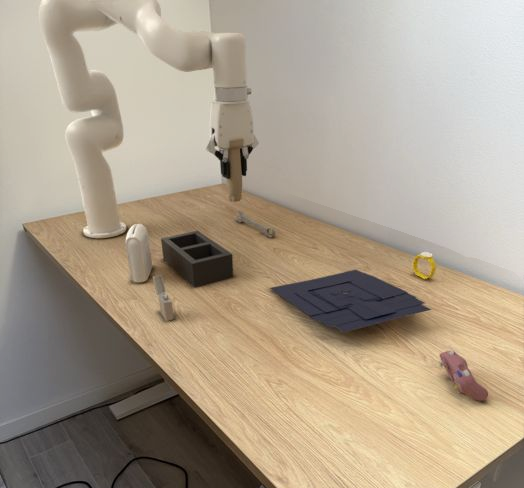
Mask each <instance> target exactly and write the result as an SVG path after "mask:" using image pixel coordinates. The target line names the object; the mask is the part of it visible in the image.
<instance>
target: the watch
mask: <svg viewBox="0 0 524 488" xmlns="http://www.w3.org/2000/svg"><path fill="white" fill-rule="evenodd" d="M433 256H434V255H433V254H432V252H428V251H422V252H421V253H420V254H418V255H416V256H415V257H414V259H413V262H412V271H413V272H414V275H415V276H417V277H419V278H421V279H423V280H428V279H430V278H432V277H433V276H434V275H435V273H436V269H437V265H436V262H435V260H434V258H433ZM420 258H421V259H423V260H427V261H428V262H429V263H430V273H429V274H428V276H427V275H425V274H424V273H422V272H420V270H419V266H418V262H419V260H420Z"/></svg>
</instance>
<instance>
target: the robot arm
mask: <svg viewBox="0 0 524 488" xmlns="http://www.w3.org/2000/svg"><path fill="white" fill-rule="evenodd" d="M161 9H162V8H161V5H160V3H159V2H158V0H41V1H40V4H39V7H38V15H37V16H38V25H39V29H40V33H41V36H42V38H43V41H44V43H45V46H46V49H47V51H48V54H49V57H50V58H49V59H50V61H51V67H52V69H53V70H52V71H53V74H54V78H55V81H56V85H57V89H58V92H59V97H60V100H61V103H62V105H63V107H64V108H65V109H66V110H67V111H69V112H71V113H75V114H81V113H86V112H90V113H91V116H86V117H82V118H77V119H75V120H73V121H71V122H70V123H69V124H68V125H67V127H66V129H65V131H64V132H65V133H64V138H65V142H66V146H67V148H68V151H69V153H70V156H71V158H72V162H73V165H74V168H75V172H76V177H77V181H78V187H79V190H80V197H81V201H82V206H83V210H84V215H85V220H86V224H87V225H86V226H85V227H83V229H82V231H83V235H84V236H86V237H88V238H91V239H107V238H113V237H117V236H120V235H122V234H124V233H125V232H126V231H127V225H126V224H125V223H124V222H122V221H121V219H120V212H119V207H118V201H117V195H116V190H115V183H114V178H113V173H112V169H111V166H110V164H109V162H108V160H107V159H106V157H105V155H104V153H106V152H108V151H112V150H114V149H116V148H119V146H121V145H122V143H123V140H124V136H125V135H124V134H125V133H124V132H125V131H124V125H123V120H122V115H121V110H120V105H119V101H118V97H117V91H116V88H115V85H114V84H113V82H112V80H111V79H110V77H109V76H108V75H107V74H106V73H104V72H103V71H101V70H98V69H89V66H88V63H87V59H86V54H85V51H84V50H83V49H84V48H83V47H82V45H81V44H80V42H79V40H78V39H77V38H76V36H75V35H74V34H75V33H76V32H77V33H78V32H99V31H100V32H101V31H104V30H107V29H110V28H111V27H113V26H115V25H117V24H119V25H120V26H122V27H124V28H125V29H126V30H129V32H131V33H133V34H135V35H136V36H138V37H139V38H140V41H141V42H142V44H143V45H144V46H145V48H146V49H147V50H148V51H149V53H150V54H152V55H153V56H155V57H156V58H157V59H159V60H161V61H162V62H164V63H165V64H166V65H168V66H170V67H171V68H174V69H176V70H178V71H179V72H184V73H190V72H195V71H204V70H208V69H212V77H213V79H212V80H213V90H214V93H213V95H214V101H212V102H211V103H210V111H209V141H208V143H207V146H206V151H207V152H209V153H211V154H212V155H214V156H215V157H216V158H217V160H218V161H220V162H219V165H220V174H221V176H222V178H224V179H226V180H227V179H230V163H229V162H228V160H227V159H228V149H229V148H230V147H229V141H234V140H241V139H243V142H244V144H243V146H241V147H240V158H241V170H242V177H246V176H247V171H248V159H249V157H250V155H251V153H252V152H253V150H254V149H256V147H258V145H259V144H260V143H259V140H258V139H257V136H256V135H255V133H254V132H255V131H254V119H253V113H252V112H253V111H252V107H251V103H250V100H248V98H249V97H248V96H249V95H252V88H251V87H248V85H247V83H248V82H247V49H246V48H247V47H246V46H247V45H246V38H245V36H244V34H242V33H241V32H217V33H216V32H212V31H205V30H204V31H201V30H200V31H183V30H181V29H179V28H177V27H176V26H174V25H173V24H171V23H169V22H167V21H166V20H165V19H164V18H163V17H161V16H162V10H161ZM216 147H217V148H218V149H216Z"/></svg>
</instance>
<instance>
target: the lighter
mask: <svg viewBox="0 0 524 488" xmlns="http://www.w3.org/2000/svg"><path fill="white" fill-rule="evenodd" d="M152 281H153V285H154V288H155V293H156V295H157V296H158V301H159V302H158V304H159V310H160V314H161V316H162V317H163V318H164V320H165V322H169V321H172V320H174V319H175V317H174V309H173V301H172V299H171V298H170V296H169V294H168V293H167V291H166V287H165V283H164V279H163V275H162V274H157V275H154V276H152Z"/></svg>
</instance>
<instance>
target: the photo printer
mask: <svg viewBox="0 0 524 488" xmlns="http://www.w3.org/2000/svg"><path fill="white" fill-rule="evenodd" d="M125 249H126V255H127V261H128V267H129V273H130V278H131V281H132V282H134V283H137V284H138V283H144V282H146V281H148V279H149V277H150V275H151V273H152V269H153V261H152V256H151V255H152V254H151V248H150V242H149V233H148V230H147V227H146V226H145V225H143V224H142V223H135V224H133V225H131V227H129V229H128V231H127V233H126V237H125Z"/></svg>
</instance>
